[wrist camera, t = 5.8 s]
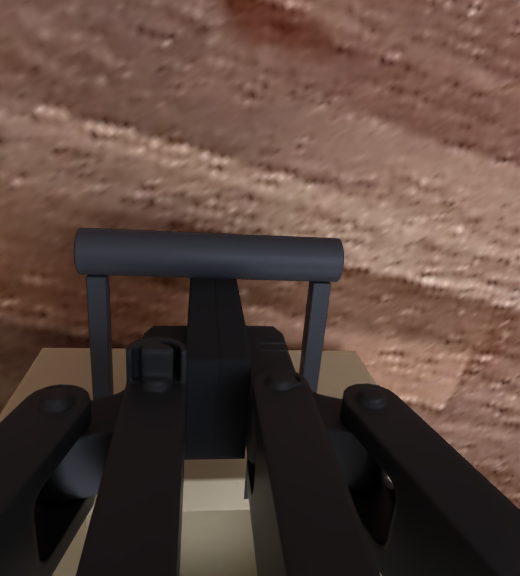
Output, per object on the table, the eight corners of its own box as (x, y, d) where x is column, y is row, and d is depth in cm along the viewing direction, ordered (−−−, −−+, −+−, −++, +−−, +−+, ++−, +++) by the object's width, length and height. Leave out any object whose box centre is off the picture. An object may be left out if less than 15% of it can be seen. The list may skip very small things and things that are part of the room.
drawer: (27, 196, 18) (-92, 260, 11) (378, 213, 20) (481, 279, 12) (66, 595, 25) (11, 796, 18) (319, 581, 27) (363, 759, 20)
